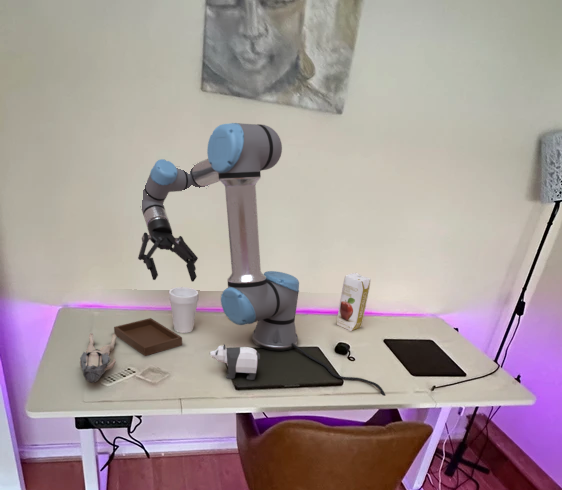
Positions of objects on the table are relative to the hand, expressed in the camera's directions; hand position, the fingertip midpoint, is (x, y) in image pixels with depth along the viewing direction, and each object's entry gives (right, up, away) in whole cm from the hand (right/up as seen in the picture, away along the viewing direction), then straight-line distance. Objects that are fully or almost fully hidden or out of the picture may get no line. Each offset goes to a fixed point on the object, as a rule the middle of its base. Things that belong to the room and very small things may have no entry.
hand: (175, 278), depth 167 cm
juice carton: (+59, -12, +26) cm, 66 cm away
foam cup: (+1, -15, +8) cm, 17 cm away
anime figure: (-18, -30, -18) cm, 39 cm away
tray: (-8, -20, -2) cm, 22 cm away
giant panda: (+21, -32, -14) cm, 41 cm away
